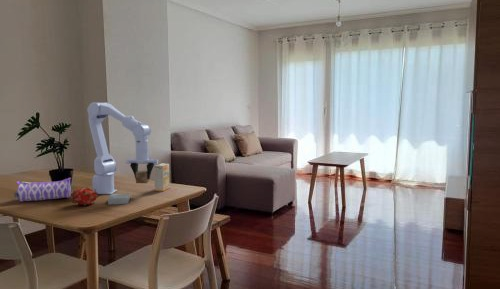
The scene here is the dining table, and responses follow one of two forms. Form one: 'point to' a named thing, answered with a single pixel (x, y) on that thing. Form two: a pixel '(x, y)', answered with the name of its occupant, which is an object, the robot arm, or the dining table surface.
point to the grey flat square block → (119, 199)
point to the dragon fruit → (83, 196)
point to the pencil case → (43, 190)
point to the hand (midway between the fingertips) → (142, 178)
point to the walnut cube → (141, 177)
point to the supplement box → (161, 177)
